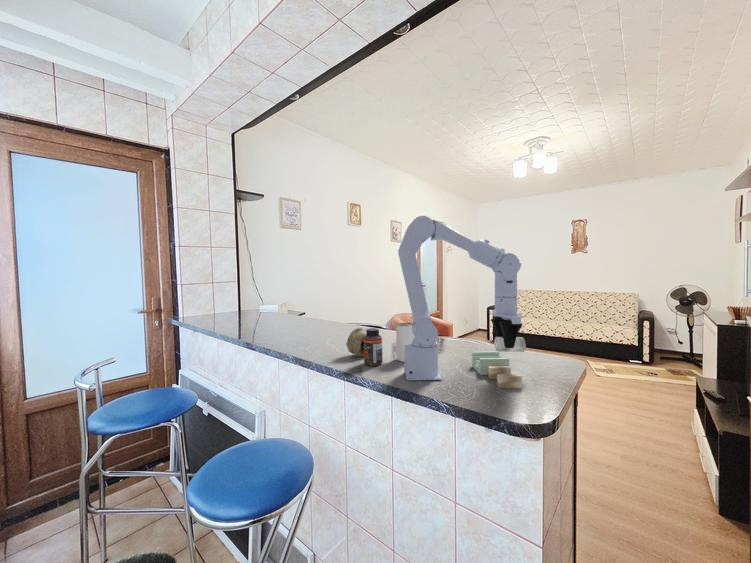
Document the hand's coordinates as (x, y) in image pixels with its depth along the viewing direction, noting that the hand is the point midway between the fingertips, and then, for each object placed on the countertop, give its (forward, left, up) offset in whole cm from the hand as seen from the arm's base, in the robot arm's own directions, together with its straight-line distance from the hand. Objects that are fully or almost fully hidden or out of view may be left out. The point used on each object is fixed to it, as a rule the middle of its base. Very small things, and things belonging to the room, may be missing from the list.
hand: (505, 345), depth 85 cm
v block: (-3, +4, -8) cm, 10 cm away
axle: (+1, 0, -2) cm, 2 cm away
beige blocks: (-3, -6, -8) cm, 10 cm away
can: (-26, +16, -9) cm, 32 cm away
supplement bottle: (-37, +12, -9) cm, 40 cm away
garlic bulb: (-42, +22, -9) cm, 49 cm away
